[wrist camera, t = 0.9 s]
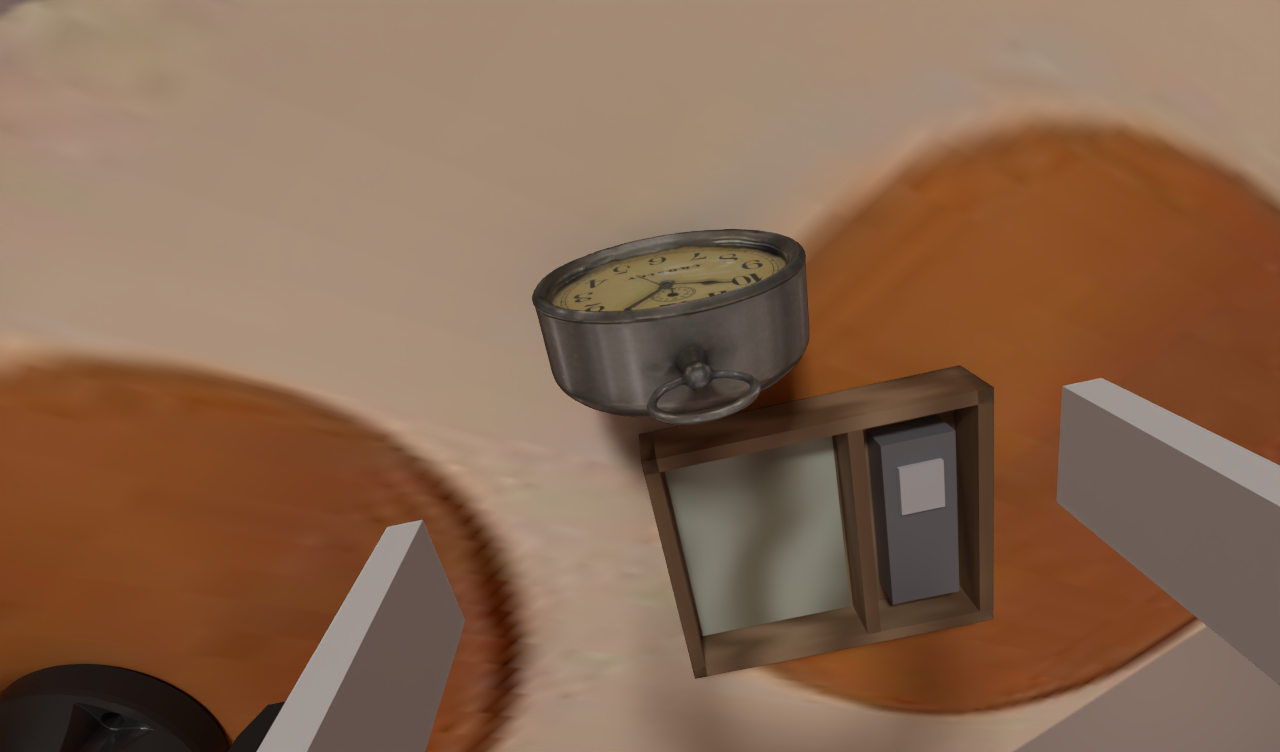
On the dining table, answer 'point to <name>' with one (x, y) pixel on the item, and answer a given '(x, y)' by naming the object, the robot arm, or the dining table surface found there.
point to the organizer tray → (810, 522)
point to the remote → (915, 507)
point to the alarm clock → (677, 323)
